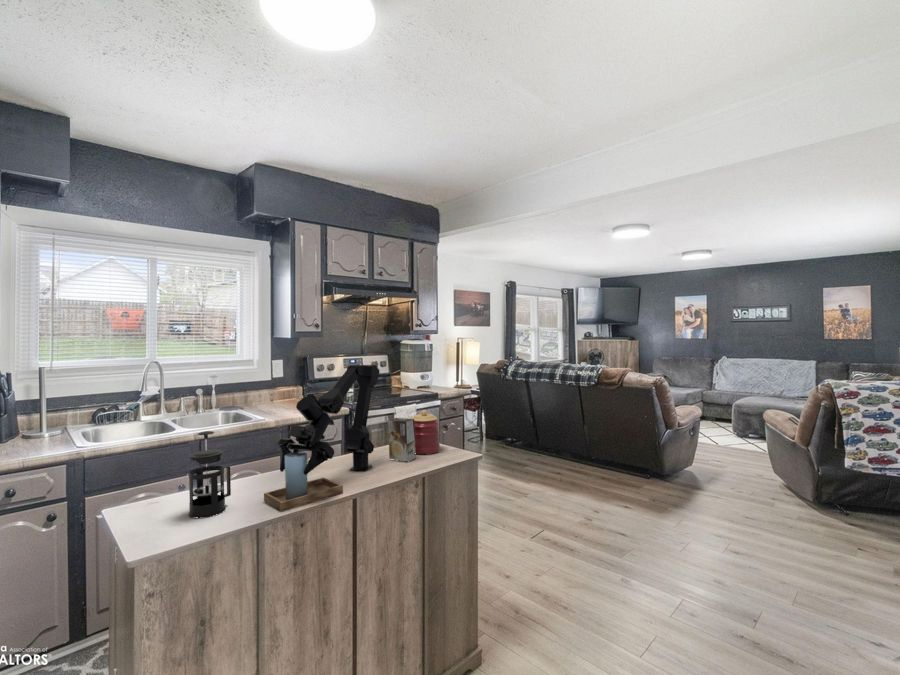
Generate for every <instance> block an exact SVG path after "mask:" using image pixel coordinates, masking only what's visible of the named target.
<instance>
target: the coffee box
mask: <svg viewBox="0 0 900 675" xmlns="http://www.w3.org/2000/svg"><path fill="white" fill-rule="evenodd" d="M387 422H388V425H387V427H388V454H389V456H388V457H389V460H390V459H394V460H400V461H399V462H402V461H409V462H411V461H413V460H412V459H414V458H416V454H415V425H414V419H411V418H408V417H407V418H406V417H395V418H391V419H389V420H388V421H387ZM394 460H393V461H394ZM410 460H411V461H410ZM414 460H415V459H414Z"/></svg>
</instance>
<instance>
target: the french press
mask: <svg viewBox="0 0 900 675" xmlns="http://www.w3.org/2000/svg"><path fill="white" fill-rule="evenodd" d="M214 433H215V432H214V431H211V430H210V431H209V430H207V431H201V432H198V433H197V435H198V436H203V439H204V440H205V442H204V445H205V449H204V450H198V451H195V452H192V453H189V454H188V455H187V456H188V458H189V460H190V461H191V462H194V461H196V462H197V463H198V464H199V465H205V466H201V467H197V468H194V469H192V470H190V471H189V472H188V481H189V482H188V483H189V484H188V485H189V486H188V487H189V490H188V491H189V503H188V504H189V505H188V506H189V512H188V516H189V517H190V516H191V517H198V518H197V519H201V518H200V517H206V518H210V516H211V517H214V516H213V515H215V516H217V515H216V514H218V515H220V514H222V513H224V512H225V511H226V510H225V509H227V507H226V499H225V498H227V497H230V496H232V495H231V494H232V489H231V466H230V465H208V464H213V463H217V462H221V461H222V460H223V454H224V453H225V450H224V449H217V448H216V449H208V443H207V442H208V438H209V435H212V434H214ZM225 469H226V493H225ZM209 471H215V472H211V473H208V472H209ZM204 472H205V474H204ZM219 476H220V477H219ZM218 477H219V478H220V482H219V483H220V484H218ZM209 479H210V484H208V483H209ZM194 480H195V481H196V488H194V484H193V482H194ZM204 480H206V481H205V483H206V485H204ZM219 493H220V494H219ZM194 497H195V499H194ZM224 510H225V511H224ZM223 511H224V512H223ZM221 512H222V513H221ZM219 513H220V514H219ZM191 517H190V518H191Z"/></svg>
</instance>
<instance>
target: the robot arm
mask: <svg viewBox="0 0 900 675" xmlns="http://www.w3.org/2000/svg"><path fill="white" fill-rule="evenodd" d="M379 376H380V369H379V368H378V366H377V365H376V364H350V365H348V366H347V368H346V371H345V372H344V373H343V374H342V376H341V377H340V378H339V379H338V381H337V382H336V383H335V385H334V386H333V387H332V389H331V390H328V391H326V392H324V393H323V394H322V395H321V396H320V397H319V399H317V397H316V396H315V395H314V394H313V393H308V394H307V396H305V397H303V398H301V399H300V400H299V401H297V403H296V406H295V407H296V410H297V411H298V412H299V413H300V414H301V416H302V417H304V419H305V420H306V421H308V422H309V423H308V424H306V425H305V426H303V425H294V424H291V425H290V428H289V433H288V436H289V437H293V438H295V441H296V442H295V441H294V440H293V439H292V438H288V437H287V438H285V437H282V438H280V439H279V441H278V442H277V443H276V444H277V446H278V447H279V449H280V450H281V453H282V455H281V461H280V465H279V466H280V468H279V471H280V472H285V455H286V454H289V453H295V452H299V451H301V452H304V451H305V452H311V454H310V458H309V459H308V460H307V466H306V468H305V470H304V475H307V476H308V474H309V473H310V472H312V471H313V470H314V469H316V468H317V467H318V466H320V465H321V464H322V463H324V462H325V461H329V460H332V459H333V457H334V456H335V455H334V454H335V449H334V448H333V447H332V446H331V445H330V444H329V442H328V441H324V439H325V438H326V436H325V435H324V434H325V433H326V430H327V429H328V426H334V425H335V422H334V419H333V416H330V414H335V415H337V414H339V413H340V412H341V410H342V408H343V405H344V403H345V402H344V400H345V399H344V398H345V397H346V395H347V393H348V392H349V391H350V390H351V388H352V387H353V385H354V384H355V382H356V383H357V384H358V390H357V398H356V403H355V410H354V415H353V423H352V426H351V427H350V428H349V427H348V428H346V430H345V436H344V444H345V447H346V450H347V453H351V454H352V467H350V468H349V471H356V472H359V471H360V472H361V471H362V472H363V471H364V472H366V471H367V470H369V469H370V468H371V467H373V466H372V464H369V454H372V453H374V449H375V444H374V443H372V441H371V440H370V432H369V429H368V427H367V424H368V418H369V410H370V404H371V398H372V390H373V388H374V386H375V385H376V384H377V383H378V379H379ZM321 440H322V441H321ZM297 442H298V443H297Z"/></svg>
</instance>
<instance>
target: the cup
mask: <svg viewBox="0 0 900 675" xmlns="http://www.w3.org/2000/svg"><path fill="white" fill-rule="evenodd" d="M307 464H308V454H307V452H304V451H298V452H295V453H289V454H286V455H285V470H284V479H285V480H284V482H285V483H284V485H285V487H284V488H285V491H286V500H290V499H294V498H297V497H301V496H304V495H307V494H308V485H307V482H308V474H307V475H304V470H305V468H306V466H307Z"/></svg>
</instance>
